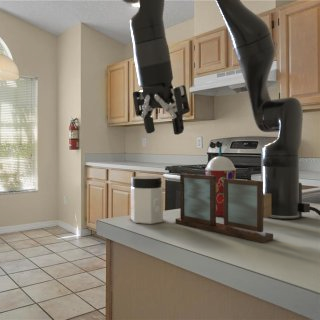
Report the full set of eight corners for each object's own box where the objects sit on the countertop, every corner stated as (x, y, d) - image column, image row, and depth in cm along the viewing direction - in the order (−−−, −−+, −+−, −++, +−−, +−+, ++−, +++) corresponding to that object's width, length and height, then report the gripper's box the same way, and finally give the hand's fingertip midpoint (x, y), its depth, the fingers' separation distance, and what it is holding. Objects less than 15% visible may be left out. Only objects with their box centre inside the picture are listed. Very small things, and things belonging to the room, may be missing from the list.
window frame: (273, 239, 71) (273, 178, 71) (262, 242, 69) (262, 179, 68) (186, 220, 90) (186, 172, 90) (175, 223, 88) (174, 173, 88)
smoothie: (242, 216, 95) (242, 146, 94) (217, 218, 93) (217, 147, 92) (223, 211, 103) (223, 146, 102) (199, 212, 101) (199, 147, 100)
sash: (271, 229, 73) (271, 180, 73) (261, 232, 71) (261, 181, 71) (233, 222, 81) (233, 177, 81) (223, 224, 79) (223, 178, 78)
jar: (145, 225, 86) (145, 179, 85) (124, 220, 92) (124, 177, 92) (169, 221, 91) (168, 177, 90) (147, 216, 97) (147, 175, 97)
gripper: (190, 54, 69) (200, 129, 73) (142, 63, 80) (153, 127, 85) (165, 60, 65) (177, 139, 69) (119, 69, 77) (131, 136, 81)
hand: (164, 133), depth 77 cm, fingers open, 8 cm apart
